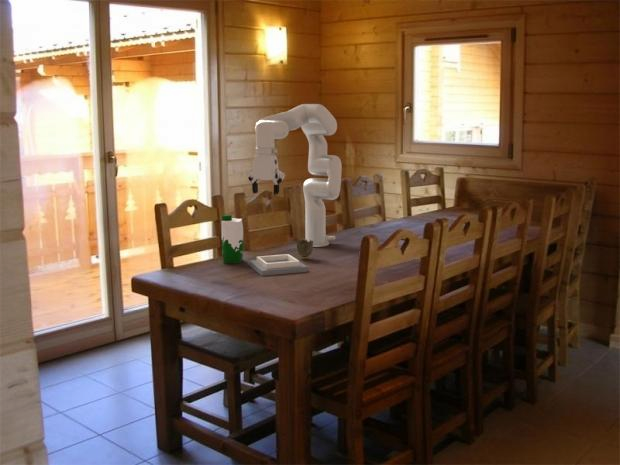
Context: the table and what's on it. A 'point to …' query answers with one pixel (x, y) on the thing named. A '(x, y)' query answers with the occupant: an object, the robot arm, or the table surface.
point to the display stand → (277, 265)
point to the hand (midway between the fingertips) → (265, 193)
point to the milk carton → (232, 239)
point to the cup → (304, 248)
